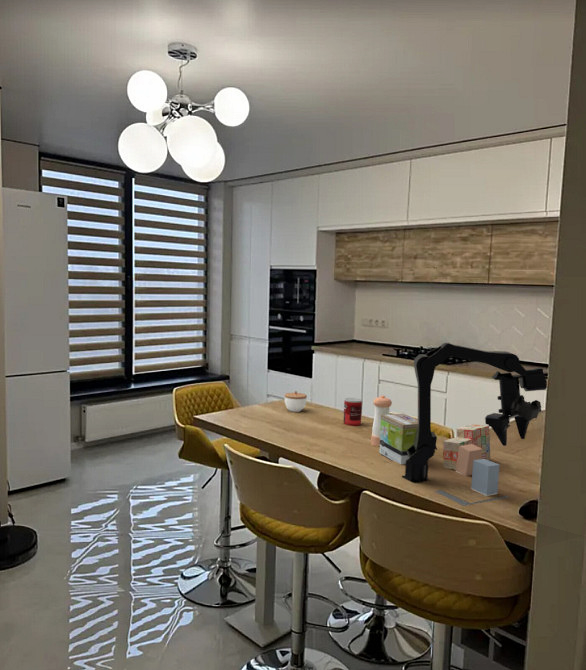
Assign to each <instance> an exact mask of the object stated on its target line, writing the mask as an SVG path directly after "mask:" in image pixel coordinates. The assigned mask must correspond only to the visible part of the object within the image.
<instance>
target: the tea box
mask: <svg viewBox="0 0 586 670" xmlns="http://www.w3.org/2000/svg"><path fill="white" fill-rule="evenodd" d="M417 427H418V418H415V417H412V416H410V415H408V414H405V413H392V414H390V413H389V415H381V430H380V447H379V454H381V455H382V456H385V457H386V458H388V459H389V460H391V461H392V462H395V463H397V464H400V465H406V460H408V459H409V457H408V455H407V451H406V450H407V449H408V448H410V447H411V446H412V445H413V444H414V439H415V434H416V431H417Z"/></svg>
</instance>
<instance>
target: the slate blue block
mask: <svg viewBox="0 0 586 670" xmlns="http://www.w3.org/2000/svg"><path fill="white" fill-rule="evenodd" d="M499 476H500V464H499V463H496V462H493V461H491V460H486V459H479V460H473V472H472V475H471V485H470V486H471V489H470V490H472V491H475V492H477V493H479V494H481V495H483V496H485V497H489V496H494V495H498V492H499V479H500V477H499Z"/></svg>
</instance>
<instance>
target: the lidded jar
mask: <svg viewBox="0 0 586 670" xmlns="http://www.w3.org/2000/svg"><path fill="white" fill-rule="evenodd" d="M306 404H307V394H305V393H302V392H298V391H296V390H295V391H294V392H287V393H284V405H285V407H286V408H287V410H288V411H289V412H293V413H299V412H302V410H304V408H305V407H306Z"/></svg>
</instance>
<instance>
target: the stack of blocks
mask: <svg viewBox="0 0 586 670" xmlns="http://www.w3.org/2000/svg"><path fill="white" fill-rule="evenodd" d="M490 437H491V436H490V426H489V425H487V424H467V425H465V426H461V427H458V428H456V437H454V438H449V439H445V440H443V441H442V443H443V444H442V447H443V449H442V450H443V451H442V456H443V457H442V458H443V468H445V469H448V470H449V469H450V470H455V471H456V465H457V458H458V451H459V446H463V445H469V444H473V445H475V446H478V447H480V448H482V449H483V450H482V457H481V459H486V460H489V461H491V438H490Z"/></svg>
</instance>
